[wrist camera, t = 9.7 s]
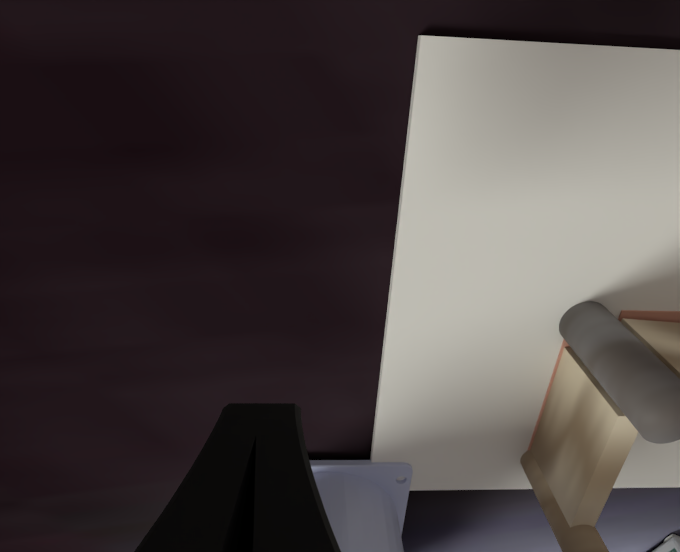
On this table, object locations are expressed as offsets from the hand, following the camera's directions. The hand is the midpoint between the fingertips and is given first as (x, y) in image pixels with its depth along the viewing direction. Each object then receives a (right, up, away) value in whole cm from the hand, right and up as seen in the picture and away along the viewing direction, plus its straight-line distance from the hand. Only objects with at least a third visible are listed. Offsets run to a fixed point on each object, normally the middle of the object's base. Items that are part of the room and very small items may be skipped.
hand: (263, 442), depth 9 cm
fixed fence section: (+11, -2, +12) cm, 16 cm away
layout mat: (+13, +1, +11) cm, 17 cm away
